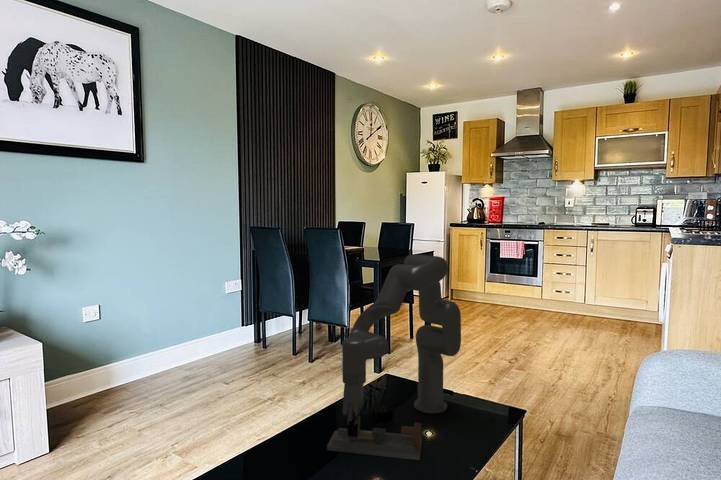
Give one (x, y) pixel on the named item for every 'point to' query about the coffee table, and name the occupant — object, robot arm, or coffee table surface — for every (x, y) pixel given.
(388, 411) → the tape measure
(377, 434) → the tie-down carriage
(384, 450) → the rail
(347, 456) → the coffee table surface
